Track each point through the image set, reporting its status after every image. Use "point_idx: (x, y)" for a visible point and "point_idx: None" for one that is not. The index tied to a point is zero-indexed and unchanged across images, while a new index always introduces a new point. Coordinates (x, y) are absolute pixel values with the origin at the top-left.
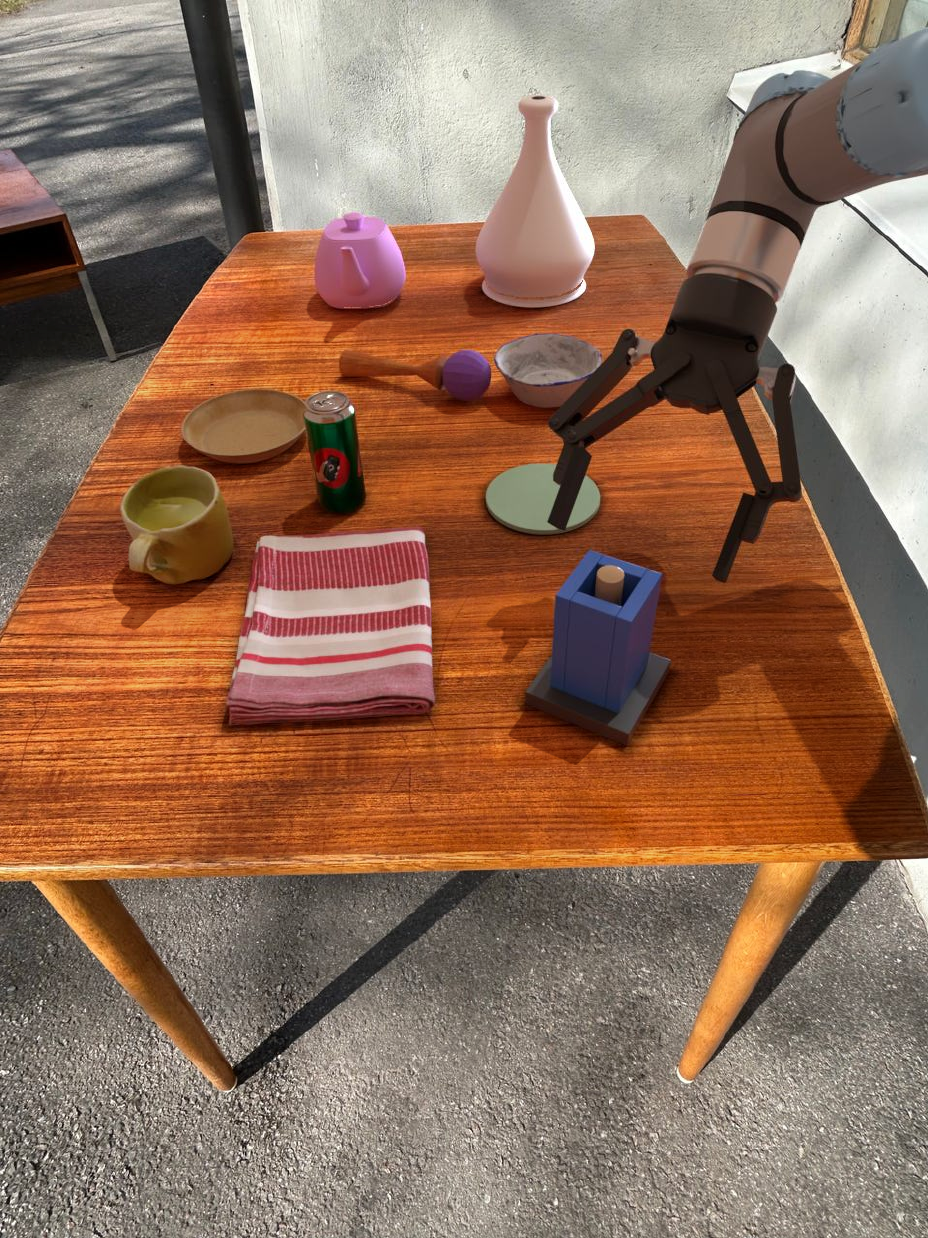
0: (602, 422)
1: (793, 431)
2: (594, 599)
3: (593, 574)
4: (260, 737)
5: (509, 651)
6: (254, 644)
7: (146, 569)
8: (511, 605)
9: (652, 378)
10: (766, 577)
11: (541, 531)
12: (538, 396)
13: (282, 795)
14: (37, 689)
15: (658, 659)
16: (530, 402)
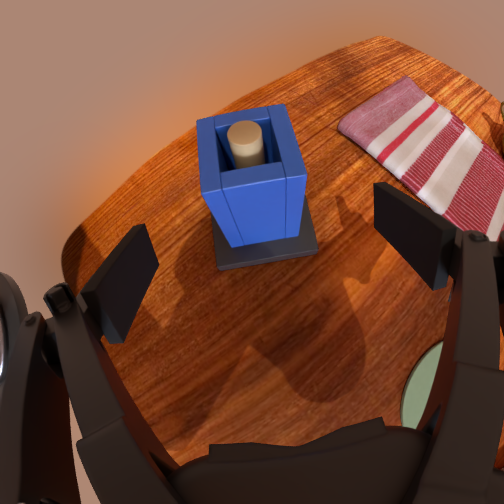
0: (465, 269)
1: (1, 397)
2: (246, 118)
3: (280, 161)
4: (385, 86)
5: (345, 206)
6: (443, 112)
7: (501, 105)
8: (383, 252)
9: (481, 410)
10: (208, 439)
11: (427, 353)
12: None
13: (345, 72)
14: (459, 77)
15: (226, 260)
16: (502, 469)
